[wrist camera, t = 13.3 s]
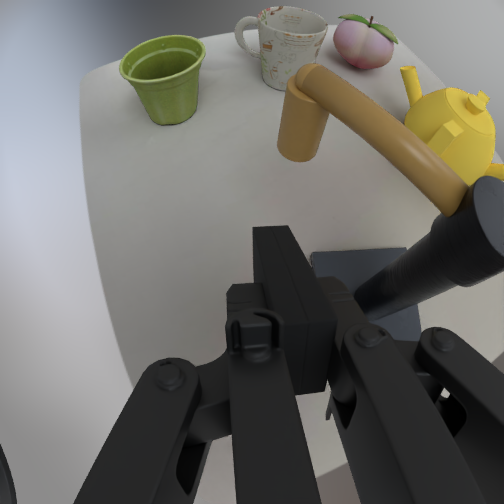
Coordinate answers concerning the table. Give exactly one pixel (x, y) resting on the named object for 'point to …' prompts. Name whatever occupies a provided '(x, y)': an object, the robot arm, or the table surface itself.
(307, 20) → the mug
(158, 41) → the plant pot
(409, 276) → the square base plate
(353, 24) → the decorative fruit
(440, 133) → the teapot
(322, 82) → the spout
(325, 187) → the table surface
